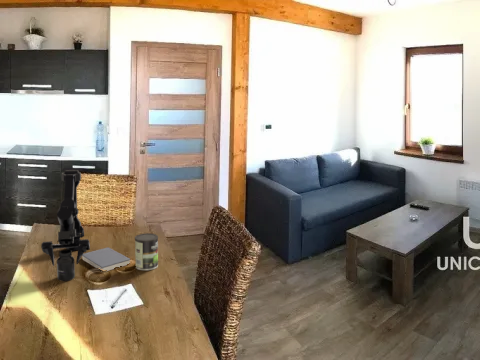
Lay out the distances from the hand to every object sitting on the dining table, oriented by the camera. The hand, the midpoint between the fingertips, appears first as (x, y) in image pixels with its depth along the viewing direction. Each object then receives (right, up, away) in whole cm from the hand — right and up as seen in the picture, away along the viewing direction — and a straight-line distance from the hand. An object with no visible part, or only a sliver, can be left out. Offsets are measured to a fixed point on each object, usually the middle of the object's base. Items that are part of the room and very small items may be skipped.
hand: (65, 264), depth 174 cm
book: (+10, -3, +21) cm, 24 cm away
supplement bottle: (-1, -6, +3) cm, 7 cm away
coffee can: (+30, -4, +18) cm, 35 cm away
